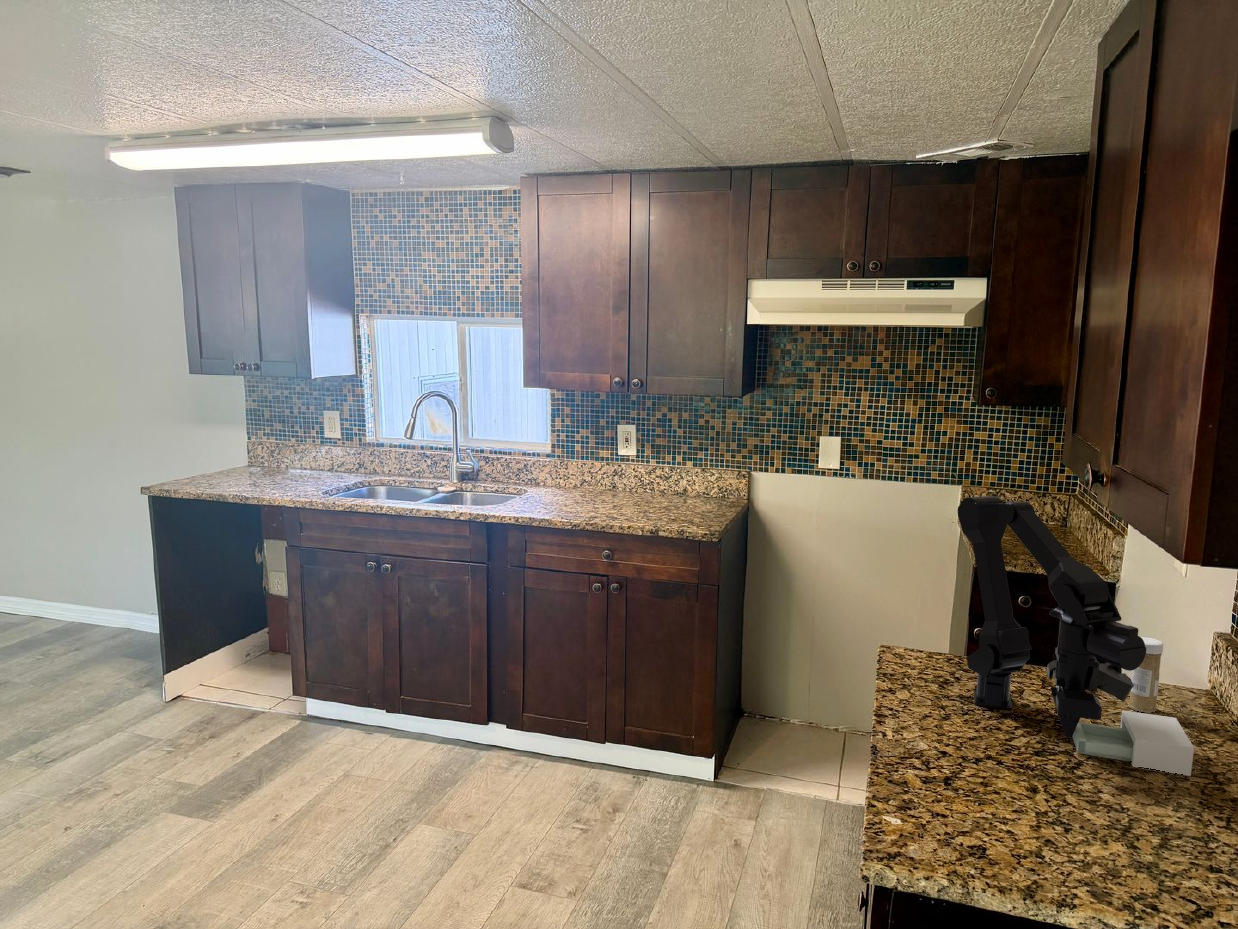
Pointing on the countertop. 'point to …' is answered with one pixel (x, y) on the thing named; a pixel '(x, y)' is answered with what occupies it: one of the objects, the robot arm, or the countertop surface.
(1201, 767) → the countertop surface
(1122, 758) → the tray shell
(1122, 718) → the low shelf
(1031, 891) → the countertop surface
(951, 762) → the countertop surface
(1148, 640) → the sprinkles bottle
